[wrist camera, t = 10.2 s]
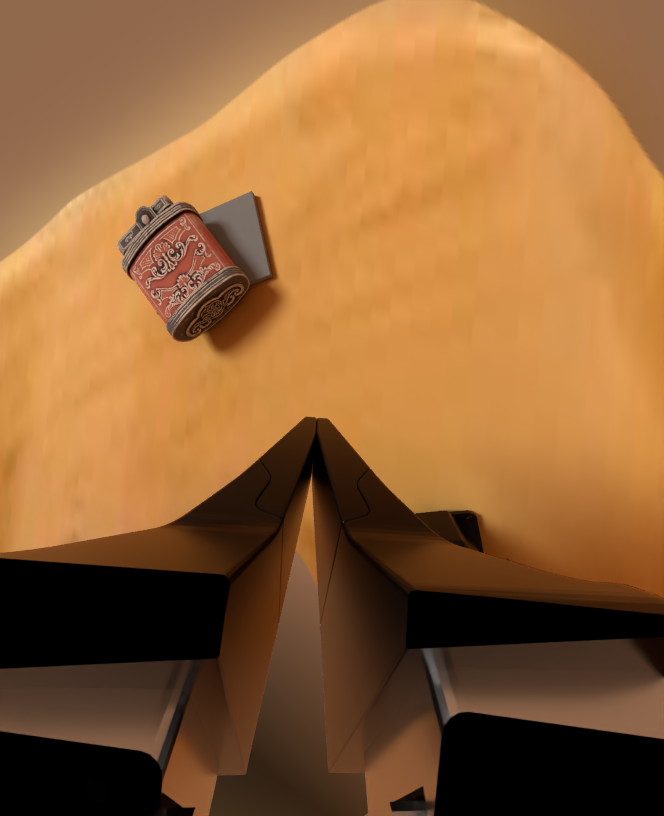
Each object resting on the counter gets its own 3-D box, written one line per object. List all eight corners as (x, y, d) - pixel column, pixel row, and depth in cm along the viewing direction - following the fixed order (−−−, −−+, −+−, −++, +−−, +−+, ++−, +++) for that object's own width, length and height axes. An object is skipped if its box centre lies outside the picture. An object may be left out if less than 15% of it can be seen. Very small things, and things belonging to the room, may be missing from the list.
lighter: (256, 286, 22) (191, 200, 22) (235, 266, 18) (159, 165, 19) (192, 345, 23) (132, 262, 23) (161, 336, 20) (92, 240, 20)
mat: (272, 277, 21) (270, 274, 21) (161, 315, 24) (157, 314, 24) (254, 195, 21) (251, 191, 21) (144, 243, 24) (139, 240, 23)
